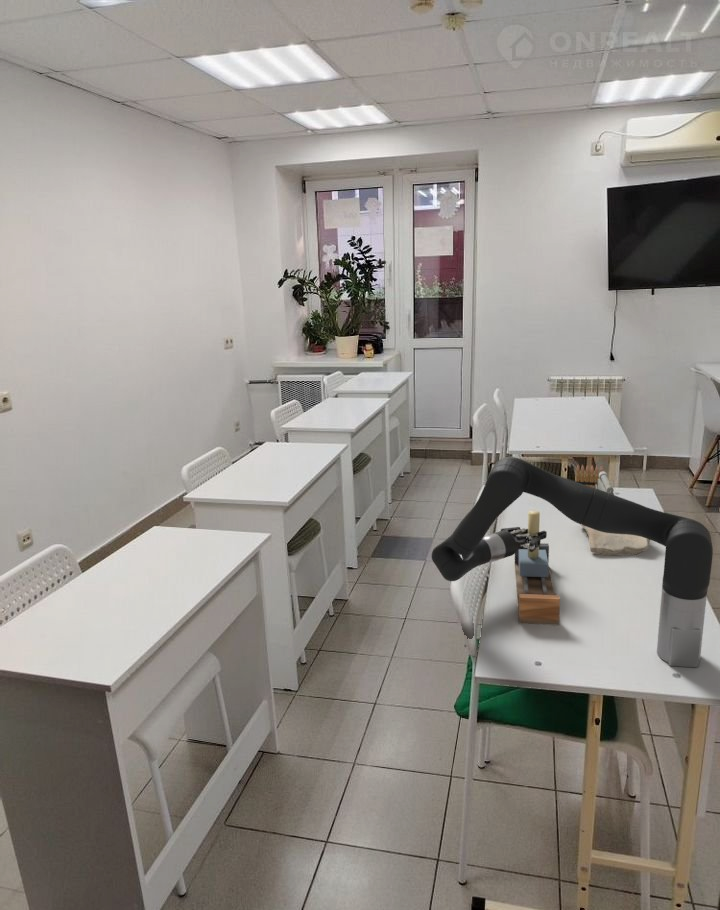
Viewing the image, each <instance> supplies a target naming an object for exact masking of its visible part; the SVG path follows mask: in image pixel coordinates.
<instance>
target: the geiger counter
mask: <svg viewBox="0 0 720 910" xmlns="http://www.w3.org/2000/svg"><path fill="white" fill-rule="evenodd" d="M598 475H599V478H600V479H598V487H597V484H596V489H599V490H602V491H605V492H607V493H610V494H613V495H615V493H614V490H615V489H614V487H613V486H612V482H611V481H610V480H609V475H608V473H607V472H606V471H604V470H603V471H602V472H600V471H599V472H598Z"/></svg>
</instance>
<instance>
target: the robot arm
mask: <svg viewBox="0 0 720 910" xmlns="http://www.w3.org/2000/svg"><path fill="white" fill-rule="evenodd" d="M488 473H489V474H488V475H487V479H486V482H485V484H484V486H483V489H482V491H481V493H480V495H479V498H478V499H477V501H476V503H475V504H474V506H473V507H472V509H470V511H469V512H467V514H466V515H465V516H464V517H463V518H462V520H460V522H459V524H458V525H457V526H456V528H455V529H454V530H453V532H452V534H451V535H450V536H448V538H446V539H445V540H444V541H442V542H441V543H439V544H438V545H436V546H435V547H434V548H433V549H432V551H431V560H432V562H433V564H434V565H435V566H436V568H437V570H438V571H439V573H440V574H441V577H443V578H444V580H446V581H448V582H457V581H458V580H460V579H461V578H463V577H464V576H465V575H466V574H467V573H469V572H470V571H472V570H474V569H475V568H477V567H479V566H482V565H486V564H489V563H493V562H496V561H499V560H503V559H505V558H508V557H512V556H513V555H514V556H515V552H516V551H517V550H518V549H524V548H528V549H529V551H530V552H533V551H534V550H535V549H537V548H538V547H539V546H540V543H541V541H542V540H544V539H547V533H548V532H547V531H546V530H541V531H539V532H538V533H536V534H531V535H530V534H528V528H526V527H525V528H523V527H522V528H521V527H520V526H514V527H506V528H505V527H504V528H500V531H495V532H493V533H490V534H487V533H488V531H489V529H490V528H491V526H492V525H493V523H494V522H495V521H496V520H497V519H498V518H499V516H500V515H501V514H502V513H503V512H504V511H505V510H506V509H507V508H509V507H510V506H511V505H512V504H513V503H514V502H515V501H516V500H518V499H519V498H520V497H521V496H522V495H523V494H524V493H526V494H529V495H531V496H534V497H537V498H540V499H542V500H544V501H546V502H548V503H549V504H550V505H552V506H553V508H556V509H557V510H558V512H560V513H562V514H563V515H564V516H565V517H566V518H568V519H569V520H571V521H573V522H575V523H577V524H579V525H581V524H582V525H584V526H586V527H589V528H592V529H595V530H597V531H601V532H605V533H613V534H627V535H636V536H640V537H644V538H647V539H650V541H652V542H655V543H657V544H659V545H662V546H664V547H665V552H664V566H663V575H662V586H661V598H660V607H659V608H660V609H659V621H658V633H657V642H656V644H657V645H656V653H657V655H658V657H659V658H660V659H661V660H662V661H664V662H666V663H667V664H668V665H669V666H671V667H685V668H687V667H688V668H698V667H699V663H700V661H701V655H702V647H703V645H702V644H703V634H704V624H705V618H706V617H705V614H706V607H707V596H708V589H709V586H710V582H711V573H712V565H713V556H714V555H713V553H714V551H713V550H714V549H713V542H712V535H711V534H710V531H709V530H708V528H707V527H706V526H705V525H704V524H703V523H701V522H700V521H697V520H695V519H692V518H688V517H686V516H685V517H684V516H681V515H677V514H672V513H668V512H665V511H661V510H657V509H653V508H650V507H647V506H645V505H642V504H640V503H637V502H634V501H631V500H628V499H626V498H623V497H620V496H617V495H615V494H614V495H613V494H610V493H607V492H605V491H602V490H599V489H595V488H593V487H589V486H586V485H583V484H580V483H578V482H575V480H572V479H569V478H566V477H563V476H560V475H557V474H554V473H553V472H550V471H547V470H546V469H543V468H541V467H539V466H537V465H535V464H532V463H530V462H528V461H526V460H523V459H521V458H518V457H513V456H506V457H502V458H500V459H499V460H497V462H495V464H494V465H493V467H492V469H491V470H490V472H488ZM486 534H487V535H486ZM531 538H533V540H531Z"/></svg>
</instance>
